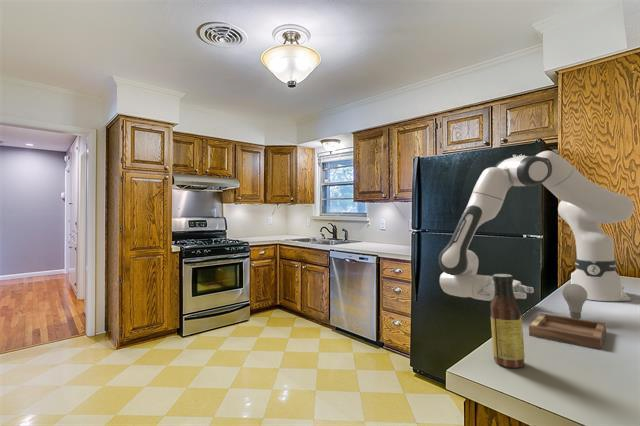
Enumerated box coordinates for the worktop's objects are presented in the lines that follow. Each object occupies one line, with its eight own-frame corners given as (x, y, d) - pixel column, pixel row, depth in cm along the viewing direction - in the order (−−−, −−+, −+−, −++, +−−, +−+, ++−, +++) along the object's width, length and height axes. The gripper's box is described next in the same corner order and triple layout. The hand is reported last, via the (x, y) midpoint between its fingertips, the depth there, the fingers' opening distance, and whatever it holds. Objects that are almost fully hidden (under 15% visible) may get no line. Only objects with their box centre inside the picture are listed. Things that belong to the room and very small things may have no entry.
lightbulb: (593, 323, 99) (591, 286, 99) (569, 322, 100) (568, 286, 100) (581, 317, 105) (580, 282, 105) (559, 316, 106) (558, 281, 106)
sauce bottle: (531, 366, 74) (528, 276, 74) (509, 371, 72) (505, 279, 72) (507, 355, 80) (504, 271, 80) (485, 359, 78) (482, 274, 78)
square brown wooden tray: (541, 321, 103) (541, 313, 103) (605, 332, 92) (605, 322, 92) (529, 335, 92) (528, 326, 92) (600, 349, 81) (599, 338, 81)
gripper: (474, 284, 113) (520, 289, 104) (494, 274, 128) (536, 278, 118) (475, 302, 113) (521, 309, 104) (494, 291, 128) (537, 296, 118)
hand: (529, 293), depth 111 cm, fingers open, 8 cm apart
